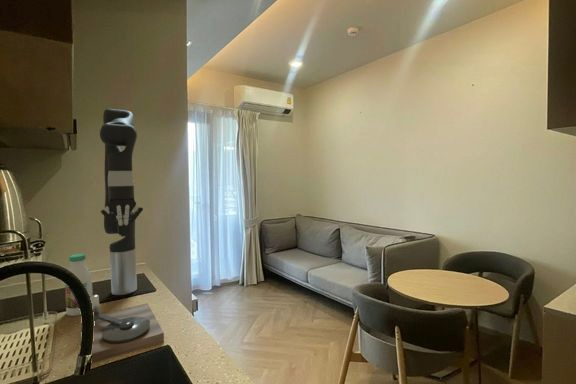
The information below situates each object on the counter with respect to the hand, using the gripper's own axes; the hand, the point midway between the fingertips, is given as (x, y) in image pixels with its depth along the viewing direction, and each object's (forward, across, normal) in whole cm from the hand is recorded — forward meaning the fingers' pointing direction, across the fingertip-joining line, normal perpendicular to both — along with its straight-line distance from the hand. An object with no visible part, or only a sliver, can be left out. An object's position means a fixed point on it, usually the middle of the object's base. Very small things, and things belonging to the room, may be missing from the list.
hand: (123, 236), depth 100 cm
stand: (+27, +3, +13) cm, 30 cm away
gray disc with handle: (+24, +5, +14) cm, 29 cm away
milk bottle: (+27, +12, -12) cm, 32 cm away
